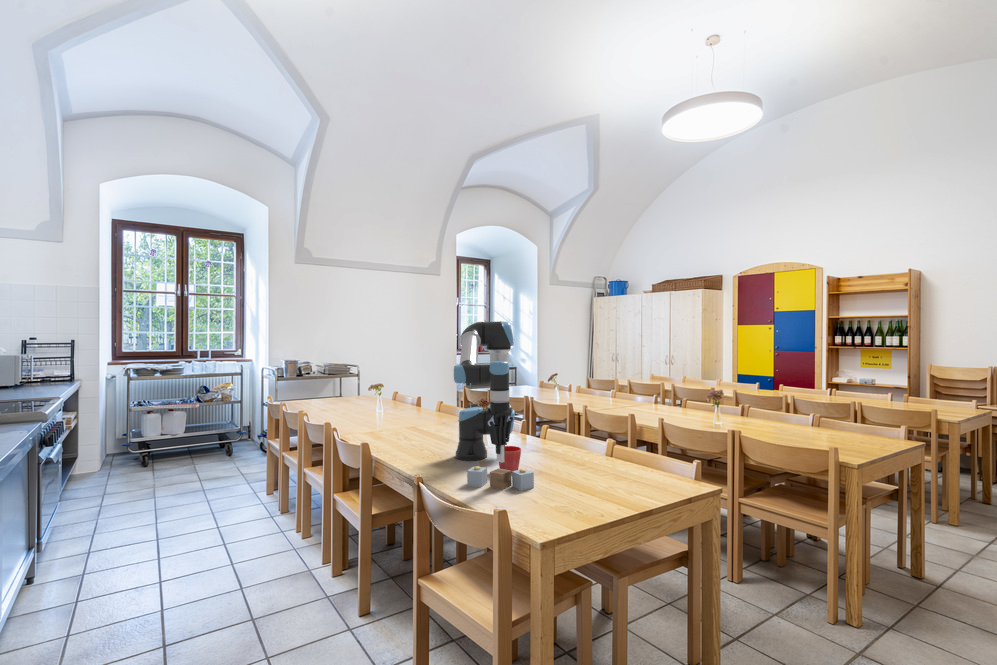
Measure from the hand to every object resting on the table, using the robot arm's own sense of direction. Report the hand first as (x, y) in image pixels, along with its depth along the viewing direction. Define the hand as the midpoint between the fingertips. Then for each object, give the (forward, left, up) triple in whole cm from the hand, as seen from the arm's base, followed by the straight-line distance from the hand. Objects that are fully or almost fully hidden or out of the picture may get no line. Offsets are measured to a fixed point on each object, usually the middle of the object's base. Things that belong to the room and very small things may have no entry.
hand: (500, 461), depth 195 cm
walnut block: (0, 0, -10) cm, 10 cm away
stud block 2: (-5, +7, -10) cm, 13 cm away
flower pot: (-18, -12, -10) cm, 23 cm away
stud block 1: (+4, -9, -10) cm, 14 cm away
